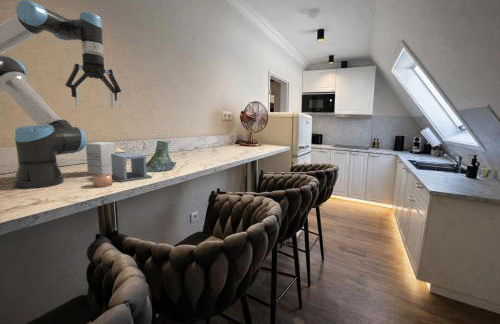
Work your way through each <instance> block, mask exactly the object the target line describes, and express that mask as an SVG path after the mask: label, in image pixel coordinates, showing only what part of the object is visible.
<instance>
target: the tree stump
mask: <svg viewBox="0 0 500 324" xmlns="http://www.w3.org/2000/svg"><path fill="white" fill-rule="evenodd" d="M176 165H177V162H176V161H172V158H171V157H170V154H169V142H167V141H164V140H163V141H162V140H157V141H156V148H155V152H154V154H153V156H151V158H150V159H149V160H148V161H146V169H147V173H164V172H170V171H172V169H173V168H175V167H176Z"/></svg>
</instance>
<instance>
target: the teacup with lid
mask: <svg viewBox="0 0 500 324" xmlns="http://www.w3.org/2000/svg"><path fill="white" fill-rule="evenodd" d="M115 153H126V151H125V150H124V149H121V148H119V147H118V146H117V145H116V146H115ZM128 160H129V159H126V162H127V161H128Z"/></svg>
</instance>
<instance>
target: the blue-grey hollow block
mask: <svg viewBox="0 0 500 324" xmlns="http://www.w3.org/2000/svg"><path fill="white" fill-rule="evenodd" d="M126 159H128V160H130V164H131V165H130V169H131V171H130V172H132V173H135V174H138V175H141V176H143V177H147V175H148V172H147V169H146V163H147V155H145V154H141V153H139V152H138V153H136V152H133V151H132V152H130V151H129V152H125V153H115V154H111V161H112V173H111V174H112V175H114V176H117V177H119V178H121V179H124V180H127V172H128V171H127V161H126Z"/></svg>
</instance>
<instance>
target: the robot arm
mask: <svg viewBox="0 0 500 324" xmlns="http://www.w3.org/2000/svg"><path fill="white" fill-rule="evenodd" d="M17 4H18V5H16V8H15V12H16V14H14V15H13V16H11V17H9V18H7V19H6V20H4V21H2V22H1V23H0V91H2V92H6V93H7V94H8V95H9V96H10V97H11V99H12V100H13V101H15V103H16V104H17V105H18V106H19V107H20V108H21V109H22V111H24V113H25V114H26V115H28V117H29V118H30V119H31V120H32V121H33V122H34V123H35V124H30V125H23V126H22V125H21V126H19V127H16V129H15V130H14V135H15V136H14V141H15V146H16V155H17V163H18V166H17V170H16V174H15V176H14V181H13V183H14V187H15V188H19V189H35V188H37V189H38V188H46V187H52V186H55V185H58V184H59V185H60V184H62V183H64V181H65V179H64V178H65V177H64V174H63V173H62V171H61V169H60V167H59V165H58V161H57V156H59V155H60V156H61V155H68V154H75V153H79V152H81V151H82V150H83V149H84V148H86V143H87V136H86V133H85V131H84V129H82V128H80V127H78V126H72V124H71V123H70V122H69V121H68V120H67V119H64V118H60V117H59V116H58V114H56V112H54V110H53V109H52V108H51V107H50V106H49V104H47V102H46V101H45V100H44V99H43V98H42V97H41V96H40V95H39V94H38V93H37V91H35V89H34V88H33V87H32V86H31V85H30V84H29V83H28V73H27V69H26V67H25V65H24V64H23V63H21V62H20V61H19V60H17V59H16V58H15V59H14V58H12V57H9V56H7V55H3V54H4V53H6V52H8V51H10V50H12V49H13V48H15V47H17V46H19V45H22V44H23V43H24V42H26V41H28V40H30V39H31V38H33V37H35V36H36V35H39V34H40V33H43V32H45V31H46V32H48V33H51V34H52V35H53V36H54V37H55V38H57V40H61V41H63V40H64V41H81V53H82V54H81V55H82V57H81V59H82V65H81V64H79V63H74V64H73V70H72V71H71V73H70V75H69V76H68V78H67V81H66V83H65V85H64V86H65V87H67V88H69V89H70V90H71V97H72V98H74V103H75V105H74V106H76V107H80V93H79V92H80V91H79V89H78V87H79V86H80V85H81V84H82V83H83V82H84V81H85V80H86V79H87V78H90V79H95V80H96V79H97V80H98V79H99V80H100V81H102V82H103V83H104V84H105V86H106V87H107V88H108V89H109V91H110V94H109V95H110V97H109V98H110V108H111V109H116V101H117V99H118V97H117V96H118V95H117V94H118V93H121V92H122V90H121V87H120V86H119V83H118V82H117V80H116V78H115V76H114V73H113V69H105V62H104V61H105V60H104V57H103V56H104V44H103V25H102V18H101V17H100V16H99V15H97V14H96V13H93V12H89V11H82V12H80V13H79V18H77V19H72V18H67V17H64V16H62V14H58V13H57V12H54V11H52V10H50V9H48V8H46V7H44V6H43V5H41V4H39V3H36V2H33V1H31V0H20V1H19V2H18V3H17ZM81 70H82V71H83V74H82V75H81V76H80V77H79V78H78V79H77V80H76V81H75V78H76V76H77V74H78V72H79V71H81ZM105 74H106V75H107V76H108V79H109V80H110V81H109V80H108V79H107V77H106V76H105ZM74 81H75V82H74ZM73 82H74V83H73Z"/></svg>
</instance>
